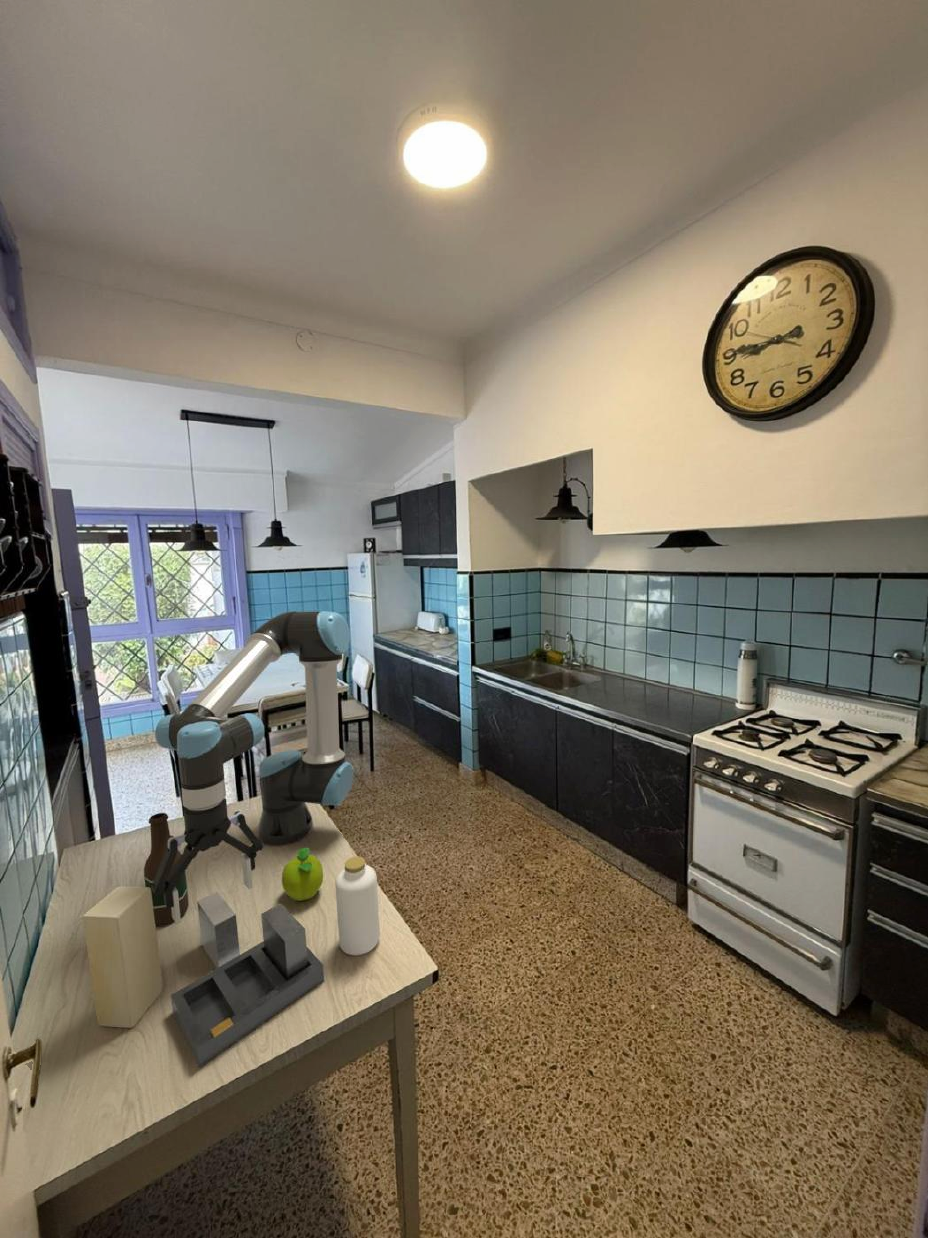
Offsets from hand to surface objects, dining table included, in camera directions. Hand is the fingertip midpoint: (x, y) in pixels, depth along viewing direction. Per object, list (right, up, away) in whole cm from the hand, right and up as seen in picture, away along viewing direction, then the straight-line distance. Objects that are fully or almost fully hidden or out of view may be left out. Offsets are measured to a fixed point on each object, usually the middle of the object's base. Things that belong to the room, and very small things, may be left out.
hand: (214, 902), depth 100 cm
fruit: (+12, -9, +18) cm, 24 cm away
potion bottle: (+29, -11, +3) cm, 31 cm away
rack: (+11, -12, -9) cm, 19 cm away
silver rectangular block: (0, -11, +2) cm, 12 cm away
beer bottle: (-17, -10, +13) cm, 24 cm away
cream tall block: (-10, -13, -10) cm, 20 cm away
